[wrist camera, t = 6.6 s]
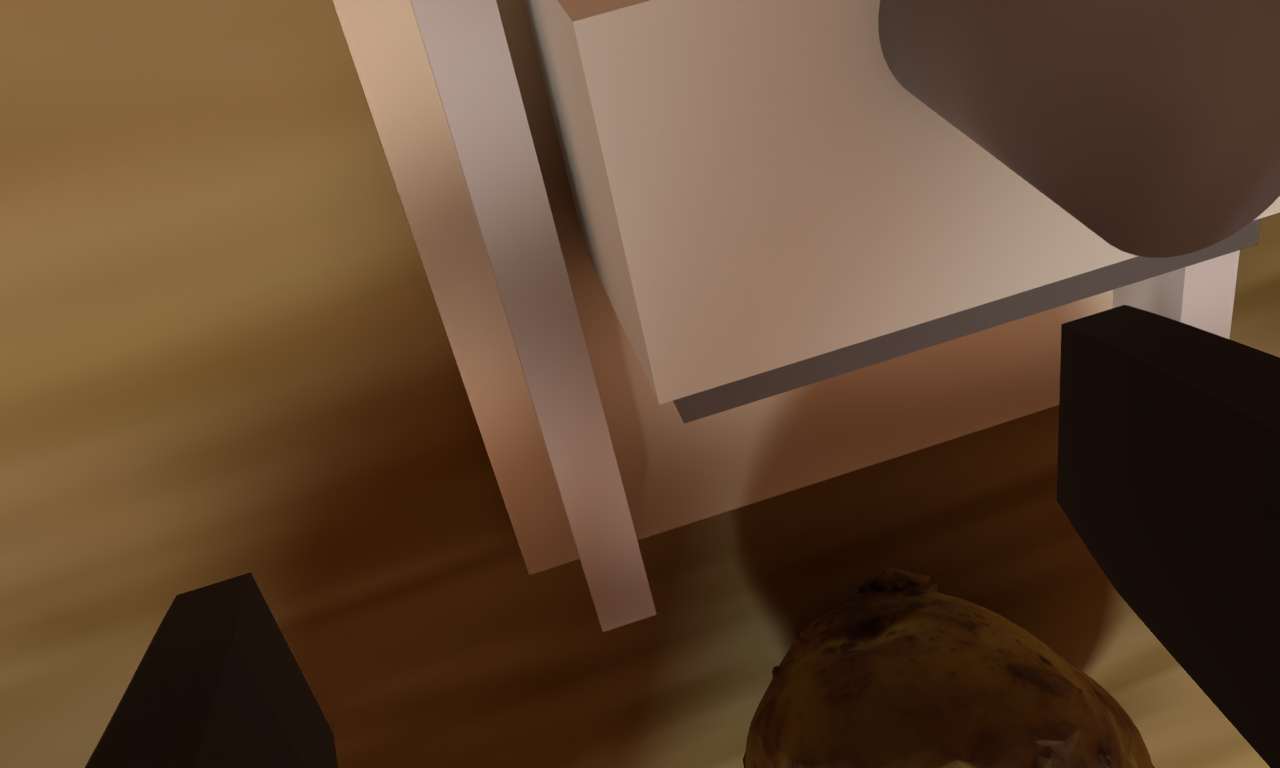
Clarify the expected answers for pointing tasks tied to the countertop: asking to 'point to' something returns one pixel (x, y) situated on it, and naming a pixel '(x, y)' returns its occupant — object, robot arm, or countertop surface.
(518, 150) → the press board
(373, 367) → the countertop surface
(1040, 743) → the potato
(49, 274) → the countertop surface
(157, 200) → the countertop surface
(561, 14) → the block
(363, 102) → the countertop surface
